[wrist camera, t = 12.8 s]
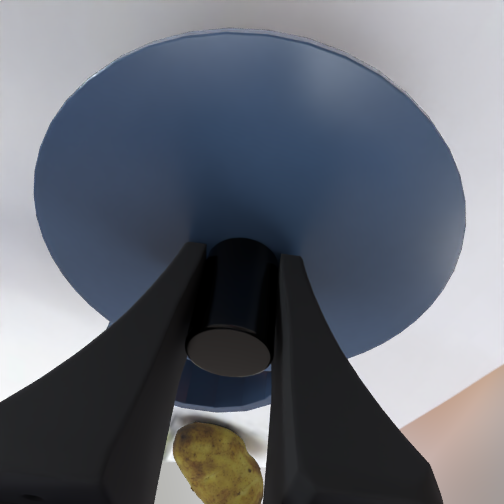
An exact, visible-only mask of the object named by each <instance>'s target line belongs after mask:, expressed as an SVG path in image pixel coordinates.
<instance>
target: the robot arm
mask: <svg viewBox="0 0 504 504" xmlns="http://www.w3.org/2000/svg"><path fill="white" fill-rule="evenodd" d="M206 256H207V244H203V243H196V242H186V243H185V244H184V245H183V247H182V248H181V250H180V251H179V252H178V254H177V255H176V257H175V258H174V259H173V261H172V262H171V263H170V264H169V266H168V267H167V268H166V269H165V271H164V272H163V273H162V274H161V275H160V276H159V278H158V279H157V280H156V281H155V282H154V283H153V285H152V286H151V287H150V288H149V289H148V290H147V291H146V292H145V293H144V294H143V295H142V296H141V297H140V298H139V299H138V300H137V301H136V303H135V304H134V305H133V306H132V307H131V308H130V309H129V310H127V311H126V312H125V313H124V314H123V315H122V316H121V317H120V318H119V319H118V320H117V321H116V322H114V323H113V324H112V325H111V326H110V327H109V328H108V329H106V330H105V331H104V332H103V333H102V334H100V335H99V336H98V337H97V338H95V339H94V340H93V341H92V342H90V343H89V344H88V345H87V346H85V347H84V348H83V349H81V350H80V351H79V352H77V353H76V354H75V355H73V356H72V357H70V358H69V359H67V360H66V361H65V362H63V363H62V364H60V365H59V366H57V367H56V368H54V369H53V370H51V371H50V372H49V373H47V374H46V375H44V376H43V377H41V378H40V379H38V380H36V381H35V382H33V383H32V384H30V385H28V386H27V387H25V388H23V389H22V390H20V391H18V392H17V393H15V394H13V395H12V396H10V397H8V398H7V399H5V400H3V401H2V402H0V504H154V500H155V495H156V490H157V485H158V480H159V475H160V469H161V464H162V460H163V455H164V450H165V445H166V440H167V435H168V430H169V426H170V421H171V416H172V412H173V407H174V403H175V398H176V393H177V389H178V385H179V381H180V378H181V374H182V371H183V368H184V365H185V362H186V359H187V354H186V351H185V340H186V336H187V332H188V328H189V325H190V321H191V317H192V313H193V309H194V306H195V302H196V298H197V294H198V290H199V287H200V283H201V279H202V276H203V272H204V268H205V264H206ZM263 504H443V500H442V496H441V493H440V490H439V488H438V485H437V482H436V479H435V477H434V474H433V471H432V469H431V466H430V464H429V463H428V462H427V461H426V460H425V458H424V457H423V456H422V455H421V454H420V453H419V452H418V451H417V450H416V449H415V447H414V446H413V445H412V444H411V443H410V442H409V441H408V440H407V438H406V437H405V436H404V435H403V434H402V433H401V431H400V430H399V429H398V428H397V427H396V425H395V424H394V423H393V422H392V420H391V419H390V418H389V417H388V416H387V414H386V413H385V412H384V411H383V409H382V408H381V407H380V405H379V404H378V403H377V401H376V400H375V399H374V397H373V396H372V394H371V393H370V392H369V390H368V389H367V388H366V386H365V385H364V384H363V382H362V381H361V379H360V378H359V376H358V375H357V373H356V372H355V370H354V369H353V367H352V366H351V364H350V363H349V361H348V359H347V358H346V356H345V354H344V353H343V351H342V350H341V348H340V346H339V344H338V343H337V341H336V339H335V337H334V335H333V333H332V331H331V329H330V327H329V325H328V324H327V322H326V319H325V317H324V315H323V313H322V311H321V309H320V306H319V304H318V302H317V299H316V297H315V295H314V292H313V290H312V287H311V284H310V282H309V279H308V276H307V273H306V270H305V266H304V262H303V259H302V258H301V256H296V255H288V254H281V257H280V262H279V267H278V280H277V306H276V325H275V345H274V358H273V361H272V362H271V409H270V423H269V436H268V449H267V462H266V473H265V485H264V498H263Z"/></svg>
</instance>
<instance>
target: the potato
mask: <svg viewBox="0 0 504 504" xmlns="http://www.w3.org/2000/svg"><path fill="white" fill-rule="evenodd" d="M173 455H174V459H175V461H176V463H177V465H178V466H179V468H180V470H181V472H182V473H183V475H184V476H185V478H186V479H187V481H188V482H189V484H190V485H191V489H192V490H193V491H194V492H195V493H196V495H197V496H198V497H199V498H200V499H201V500H202V501H203V502H204V504H261V500H262V498H263V479H262V475H261V471H260V467H259V465H258V464H257V462H256V461H255V459H254V458H253V457H252V456H251V455H249V454H248V452H247V450H246V446H245V443H244V441H243V440H242V439H241V438H240V437H239V436H238V435H237V434H235V433H234V432H232V431H231V430H229V429H227V428H224V427H221V426H218V425H214V424H208V423H201V422H194V423H192V424H188V425H186V426H184V427H182V428H181V429H179V430H178V432H177V434H176V436H175V440H174V443H173Z"/></svg>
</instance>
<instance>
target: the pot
mask: <svg viewBox="0 0 504 504" xmlns="http://www.w3.org/2000/svg"><path fill="white" fill-rule="evenodd" d="M112 324H113V323H112V322H109V325H108V327H107V329H108V328H109V327H110V326H111V325H112ZM269 404H271V371H262V372H260V373H258V374H255V375H251V376H245V377H228V376H221V375H217V374H214V373H211V372H208V371H206V370H204V369H202V368H200V367H198V366H197V365H195V364H194V363H193V362H192V361H191V360H188V359H186V362H185V365H184V368H183V371H182V374H181V378H180V381H179V385H178V389H177V393H176V398H175V403H174V405H175V406H178V407H181V408H187V409H195V410H202V411H209V412H237V411H248V410H252V409H255V408H259V407H262V406H266V405H269Z"/></svg>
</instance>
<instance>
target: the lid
mask: <svg viewBox="0 0 504 504" xmlns="http://www.w3.org/2000/svg"><path fill="white" fill-rule="evenodd" d="M34 201H35V208H36V216H37V220H38V223H39V226H40V230H41V233H42V236H43V239H44V241H45V243H46V246H47V248H48V250H49V252H50V254H51V256H52V258H53V260H54V261H55V263H56V265H57V266H58V268H59V269H60V271H61V273H62V274H63V276H64V277H65V278H66V279H67V281H68V282H69V283H70V284H71V286H72V287H73V288H74V289H75V291H76V292H77V293H78V294H79V295H80V296H81V297H82V298H83V299H84V300H85V301H86V302H87V303H88V304H89V305H90V306H91V307H93V308H94V309H95V310H96V311H97V312H99V313H100V314H101V315H102V316H103V317H105V318H106V319H107V320H109V321H110V322H112V323H114V322H116V321H117V320H118V319H119V318H120V317H121V316H122V315H123V314H124V313H125V312H126V311H127V310H129V309H130V308H131V307H132V306H133V305H134V304H135V303H136V301H137V300H138V299H139V298H140V297H141V296H142V295H143V294H144V293H145V292H146V291H147V290H148V289H149V288H150V287H151V286H152V285H153V283H154V282H155V281H156V280H157V279H158V278H159V276H160V275H161V274H162V273H163V272H164V271H165V269H166V268H167V267H168V266H169V264H170V263H171V262H172V261H173V259H174V258H175V257H176V255H177V254H178V252H179V251H180V250H181V248H182V247H183V245H184V244H185V243H186V242H196V243H203V244H207V256H206V264H205V268H204V272H203V276H202V279H201V283H200V287H199V290H198V294H197V298H196V302H195V306H194V309H193V313H192V317H191V321H190V325H189V328H188V332H187V336H186V340H185V351H186V354H187V359H188V360H191V361H192V362H193V363H194V364H195V365H197V366H198V367H200V368H202V369H204V370H206V371H208V372H211V373H214V374H217V375H221V376H228V377H245V376H251V375H255V374H258V373H260V372H262V371H271V362H272V361H273V358H274V345H275V325H276V306H277V280H278V267H279V262H280V257H281V254H288V255H296V256H301V258H302V259H303V262H304V266H305V270H306V273H307V276H308V279H309V282H310V284H311V287H312V290H313V292H314V295H315V297H316V299H317V302H318V304H319V306H320V309H321V311H322V313H323V315H324V317H325V319H326V322H327V324H328V325H329V327H330V329H331V331H332V333H333V335H334V337H335V339H336V341H337V343H338V344H339V346H340V348H341V350H342V351H343V353H344V354H345V356H346V358H347V359H348V358H351V357H353V356H356V355H359V354H361V353H364V352H366V351H368V350H370V349H373V348H375V347H377V346H379V345H381V344H383V343H385V342H386V341H388V340H389V339H391V338H393V337H394V336H396V335H398V334H399V333H401V332H402V331H403V330H405V329H406V328H407V327H408V326H410V325H411V324H412V323H414V322H415V321H416V320H417V319H418V318H419V317H420V316H421V315H422V314H423V313H424V312H425V311H426V310H427V309H428V308H429V307H430V306H431V305H432V304H433V302H434V301H435V300H436V299H437V297H438V296H439V295H440V293H441V292H442V291H443V289H444V288H445V286H446V284H447V282H448V280H449V279H450V277H451V275H452V273H453V272H454V269H455V266H456V264H457V261H458V258H459V255H460V253H461V250H462V244H463V239H464V233H465V227H466V206H465V197H464V192H463V187H462V182H461V177H460V174H459V171H458V169H457V166H456V164H455V161H454V159H453V156H452V154H451V151H450V149H449V147H448V146H447V144H446V143H445V141H444V140H443V138H442V136H441V135H440V133H439V132H438V130H437V129H436V127H435V125H434V124H433V122H432V121H431V119H430V118H429V116H428V115H427V114H426V113H425V112H424V111H423V110H422V109H421V108H420V107H419V105H418V104H417V103H416V102H415V101H414V100H413V99H412V98H411V97H410V96H409V95H408V93H407V92H406V91H404V90H403V89H402V88H400V87H399V86H398V85H397V84H395V83H394V82H393V81H392V80H390V79H389V78H388V77H386V76H385V75H384V74H383V73H381V72H380V71H379V70H377V69H375V68H374V67H372V66H370V65H368V64H366V63H365V62H363V61H361V60H359V59H357V58H356V57H354V56H352V55H350V54H348V53H347V52H345V51H342V50H339V49H336V48H334V47H331V46H328V45H326V44H323V43H320V42H317V41H315V40H312V39H309V38H305V37H301V36H296V35H291V34H286V33H281V32H276V31H271V30H260V29H241V28H222V29H212V30H202V31H192V32H187V33H183V34H179V35H175V36H171V37H168V38H164V39H160V40H156V41H153V42H151V43H148V44H146V45H144V46H142V47H139V48H137V49H135V50H133V51H131V52H128V53H126V54H124V55H122V56H120V57H119V58H117V59H116V60H114V61H113V62H111V63H110V64H108V65H107V66H105V67H104V68H102V69H101V70H99V71H98V72H96V73H95V74H94V75H92V76H91V77H90V78H88V79H87V80H86V81H85V82H84V83H83V84H82V85H81V86H80V87H79V88H78V89H77V90H76V91H75V92H74V93H73V94H72V95H71V96H70V97H69V98H68V99H67V100H66V101H65V103H64V104H63V106H62V107H61V109H60V110H59V111H58V113H57V114H56V116H55V117H54V119H53V120H52V122H51V123H50V125H49V128H48V130H47V132H46V134H45V137H44V139H43V141H42V144H41V146H40V149H39V154H38V158H37V163H36V167H35V174H34Z"/></svg>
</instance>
